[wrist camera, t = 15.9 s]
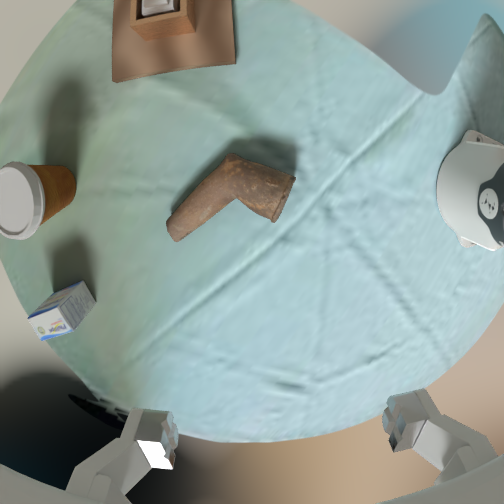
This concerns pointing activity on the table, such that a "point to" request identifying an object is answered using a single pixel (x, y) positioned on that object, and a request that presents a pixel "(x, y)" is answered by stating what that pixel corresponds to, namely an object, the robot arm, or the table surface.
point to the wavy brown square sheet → (172, 40)
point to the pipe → (232, 194)
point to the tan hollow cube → (163, 21)
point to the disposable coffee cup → (32, 196)
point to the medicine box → (62, 311)
